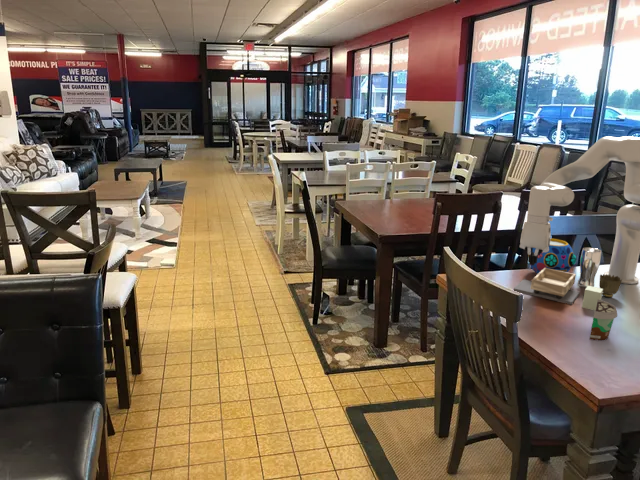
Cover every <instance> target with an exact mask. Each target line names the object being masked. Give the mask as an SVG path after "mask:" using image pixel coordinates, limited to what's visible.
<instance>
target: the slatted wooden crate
mask: <svg viewBox="0 0 640 480" xmlns="http://www.w3.org/2000/svg"><path fill="white" fill-rule="evenodd" d="M576 276H577V275H576V273H573V272H569V271H568V272H563V271H558V270H554V269H549V268H544V269H543V270H541V271H540V272H539V273H538V274H537V273H536V276H534V277H533V278H532V279H531V281H532V283H531V289H533V290H534V293H536V294H538V293H539V292H540V291H542V292H546V293H550V294H554V295H556V297H557V298H558V299H561V298H562V297H564V295H565V294H566V293H567V292H568V290H571V288H572V287H573V285H574V284H575V282H576Z"/></svg>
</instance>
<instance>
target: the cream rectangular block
mask: <svg viewBox="0 0 640 480" xmlns="http://www.w3.org/2000/svg"><path fill="white" fill-rule="evenodd" d="M602 293H603V289H601V288H600V287H596V286H594V287H592V286H587V288H585V289H584V294H583V301H582V305H581V308H583V309H587V310H591V311H595V310H596V306H597V301H598V300H602V297H603V295H602Z"/></svg>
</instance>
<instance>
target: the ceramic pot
mask: <svg viewBox="0 0 640 480" xmlns="http://www.w3.org/2000/svg"><path fill="white" fill-rule="evenodd" d="M535 249H536V248H533V253H535ZM527 255H528V254H527ZM527 257H529V255H528V256H527ZM576 262H577V255H576V254H575V253H574V251H573V247H572V246H571V245H570V244H569V243H568V242H567V241H566V240H562V239H559V238H551V237H550V245H549V251H548V252H542V253H540V254H539V255H538V258H537V263H535V264H534V265H529V266H530V268H531V270H532V271H534V272H535V274H536V275H537V274H538V273H539V272H540V271H541V270H543V269H544V268H549V269H554V270H558V271H563V272H568V273H569V271H570V270H571V269H572V267H573V266H575V264H576Z"/></svg>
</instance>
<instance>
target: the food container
mask: <svg viewBox="0 0 640 480" xmlns="http://www.w3.org/2000/svg"><path fill="white" fill-rule="evenodd" d="M593 313H594V314H593V318H592V323H591V330H590V333H589V334H590V335H589V340H591V341H598V342H599V341H600V342H602V341H607V340H608V339H609V337H610V334H611V330H612V326H613V323H614V320H615V318H617V317H618V310H617V307H616V306H615V305H614V304H613V303H610V302H608V301H605V300H602V299H601V300H598V301H597V306H596V310H594V312H593Z"/></svg>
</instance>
